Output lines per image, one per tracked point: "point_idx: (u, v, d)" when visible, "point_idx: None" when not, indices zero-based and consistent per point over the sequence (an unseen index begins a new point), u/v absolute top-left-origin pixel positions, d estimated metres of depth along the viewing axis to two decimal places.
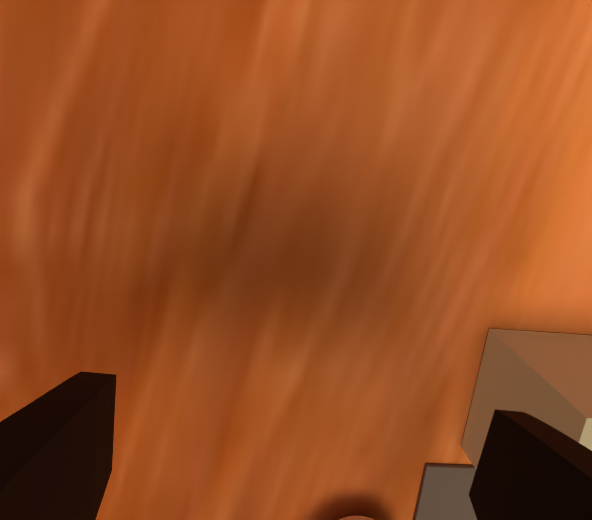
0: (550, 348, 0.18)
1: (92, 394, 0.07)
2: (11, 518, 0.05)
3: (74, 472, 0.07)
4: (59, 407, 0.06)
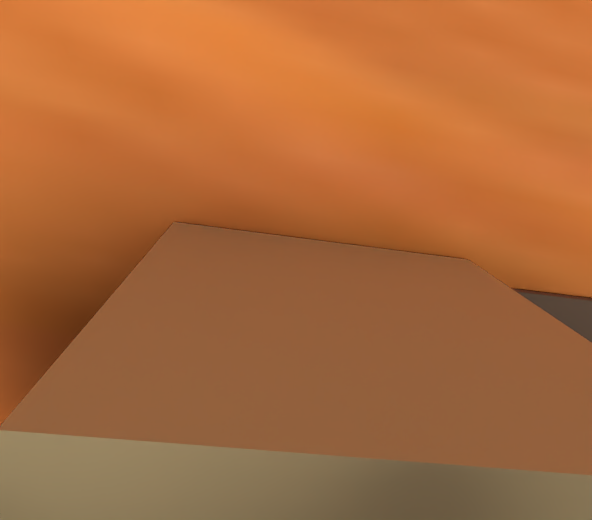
0: None
1: None
2: None
3: None
4: None
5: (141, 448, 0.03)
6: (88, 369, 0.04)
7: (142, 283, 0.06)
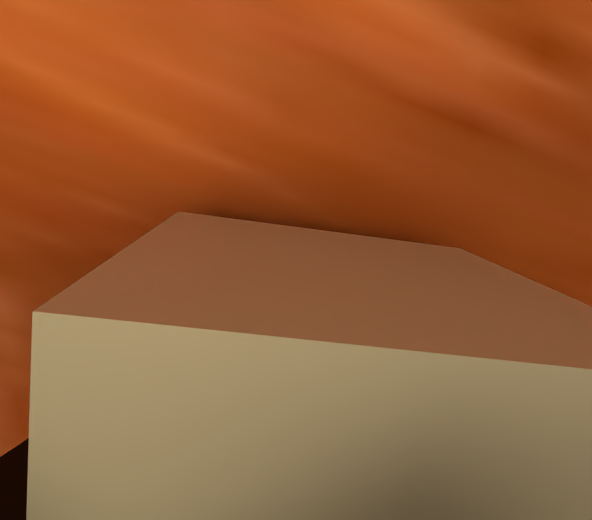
0: None
1: None
2: None
3: None
4: None
5: (162, 333, 0.03)
6: (109, 285, 0.04)
7: (152, 242, 0.06)
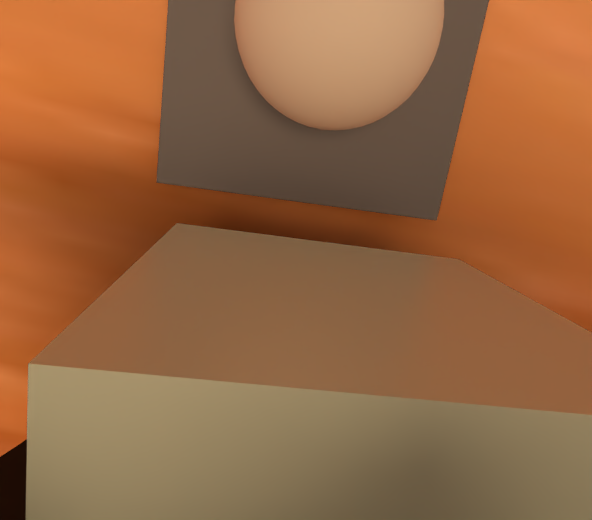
0: None
1: None
2: None
3: None
4: None
5: (157, 383, 0.03)
6: (105, 326, 0.04)
7: (150, 267, 0.06)
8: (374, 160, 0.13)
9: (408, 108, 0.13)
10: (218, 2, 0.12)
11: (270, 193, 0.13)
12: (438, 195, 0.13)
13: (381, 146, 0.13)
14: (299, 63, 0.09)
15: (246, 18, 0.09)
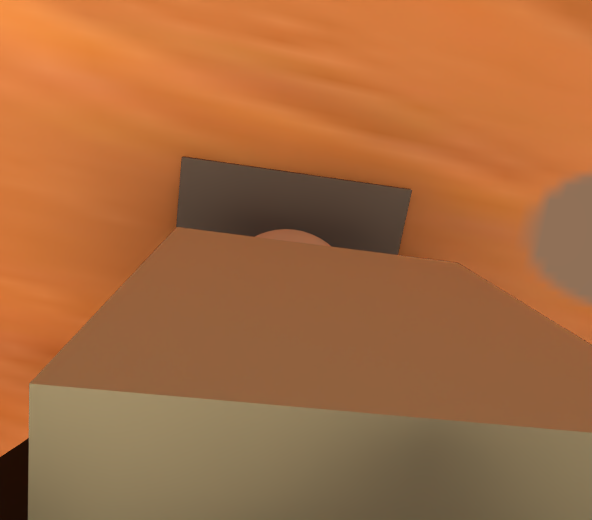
0: None
1: None
2: None
3: None
4: None
5: (156, 402, 0.03)
6: (106, 341, 0.04)
7: (150, 275, 0.06)
8: None
9: None
10: None
11: None
12: None
13: None
14: None
15: None
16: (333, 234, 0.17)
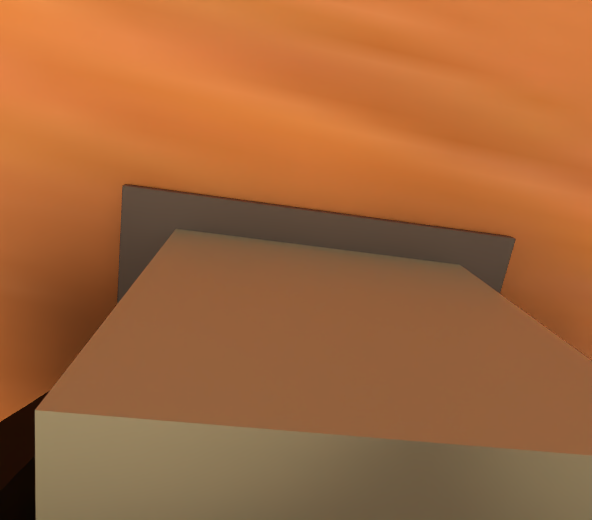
0: None
1: None
2: (11, 518, 0.05)
3: None
4: None
5: (156, 426, 0.04)
6: (107, 361, 0.04)
7: (151, 285, 0.06)
8: None
9: None
10: None
11: None
12: None
13: None
14: None
15: None
16: None
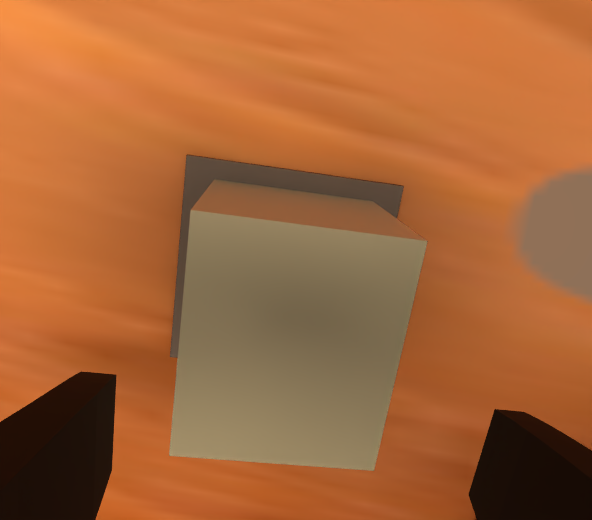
0: None
1: (92, 394, 0.07)
2: (11, 518, 0.05)
3: (74, 472, 0.07)
4: (59, 407, 0.06)
5: (227, 217, 0.11)
6: (206, 205, 0.12)
7: (211, 193, 0.14)
8: None
9: None
10: None
11: None
12: None
13: None
14: None
15: None
16: None
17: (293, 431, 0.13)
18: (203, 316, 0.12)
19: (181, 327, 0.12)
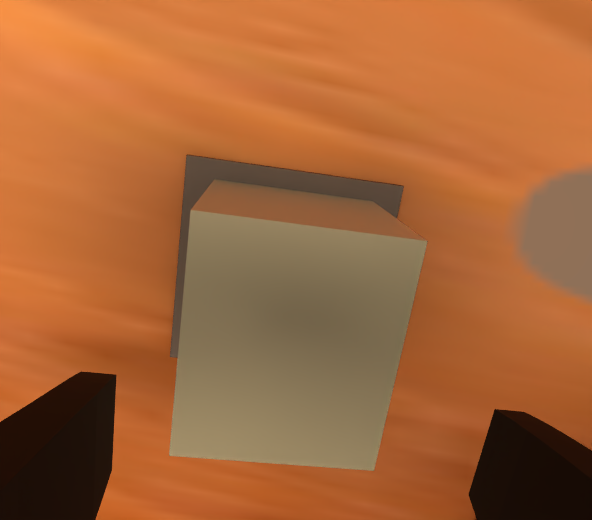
0: None
1: (92, 394, 0.07)
2: (11, 518, 0.05)
3: (74, 472, 0.07)
4: (59, 407, 0.06)
5: (227, 217, 0.11)
6: (206, 205, 0.12)
7: (211, 193, 0.14)
8: None
9: None
10: None
11: None
12: None
13: None
14: None
15: None
16: None
17: (293, 431, 0.13)
18: (203, 316, 0.12)
19: (181, 327, 0.12)
